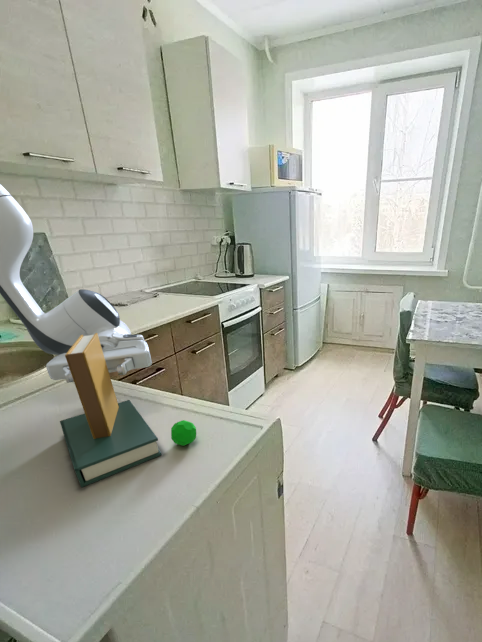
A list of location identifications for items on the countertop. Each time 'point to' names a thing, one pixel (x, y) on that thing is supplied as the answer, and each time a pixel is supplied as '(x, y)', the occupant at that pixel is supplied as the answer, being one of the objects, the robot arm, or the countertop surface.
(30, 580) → the countertop surface
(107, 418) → the paperback
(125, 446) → the hardcover
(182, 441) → the polyhedron
